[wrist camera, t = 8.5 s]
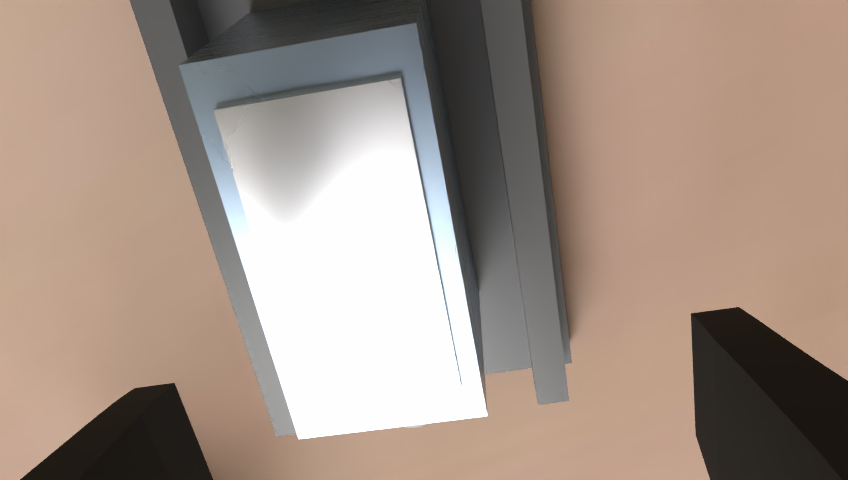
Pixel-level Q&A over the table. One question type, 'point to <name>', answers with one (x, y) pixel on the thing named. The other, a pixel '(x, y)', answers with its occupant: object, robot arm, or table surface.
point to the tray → (477, 165)
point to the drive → (346, 209)
